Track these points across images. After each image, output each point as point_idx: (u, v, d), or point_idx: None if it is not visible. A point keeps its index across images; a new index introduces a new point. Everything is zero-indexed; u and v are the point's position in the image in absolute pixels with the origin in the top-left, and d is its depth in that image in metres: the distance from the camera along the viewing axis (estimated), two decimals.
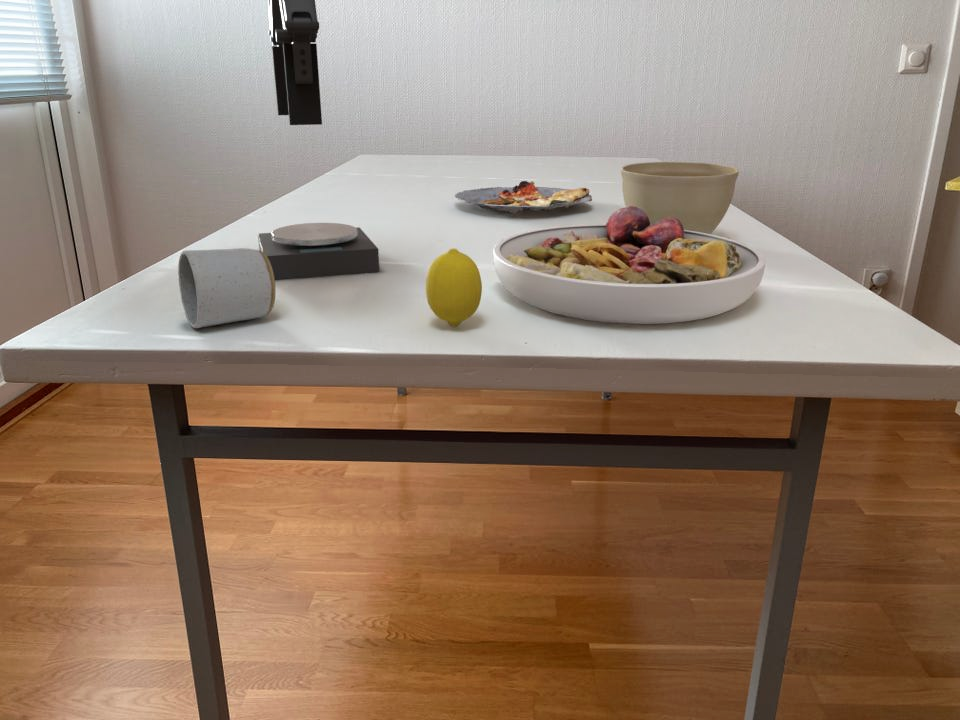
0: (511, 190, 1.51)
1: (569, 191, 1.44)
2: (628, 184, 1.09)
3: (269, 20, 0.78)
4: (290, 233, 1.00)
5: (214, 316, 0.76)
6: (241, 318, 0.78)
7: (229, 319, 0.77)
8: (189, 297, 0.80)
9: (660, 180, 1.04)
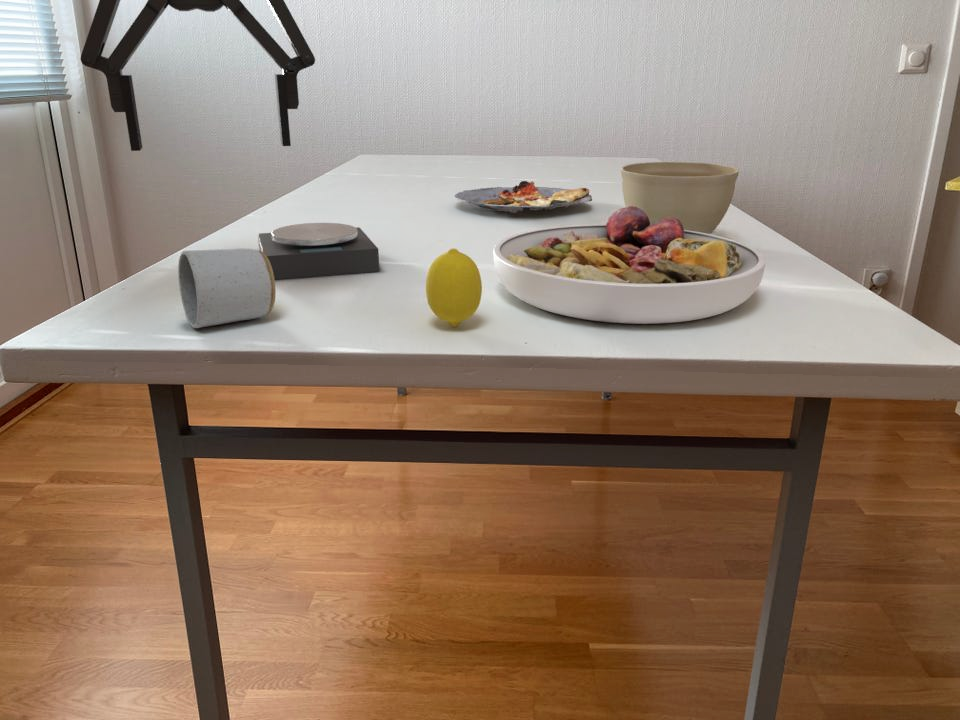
0: (511, 190, 1.51)
1: (569, 191, 1.44)
2: (628, 184, 1.09)
3: (90, 46, 0.68)
4: (290, 233, 1.00)
5: (214, 316, 0.76)
6: (241, 318, 0.78)
7: (229, 319, 0.77)
8: (189, 297, 0.80)
9: (660, 180, 1.04)
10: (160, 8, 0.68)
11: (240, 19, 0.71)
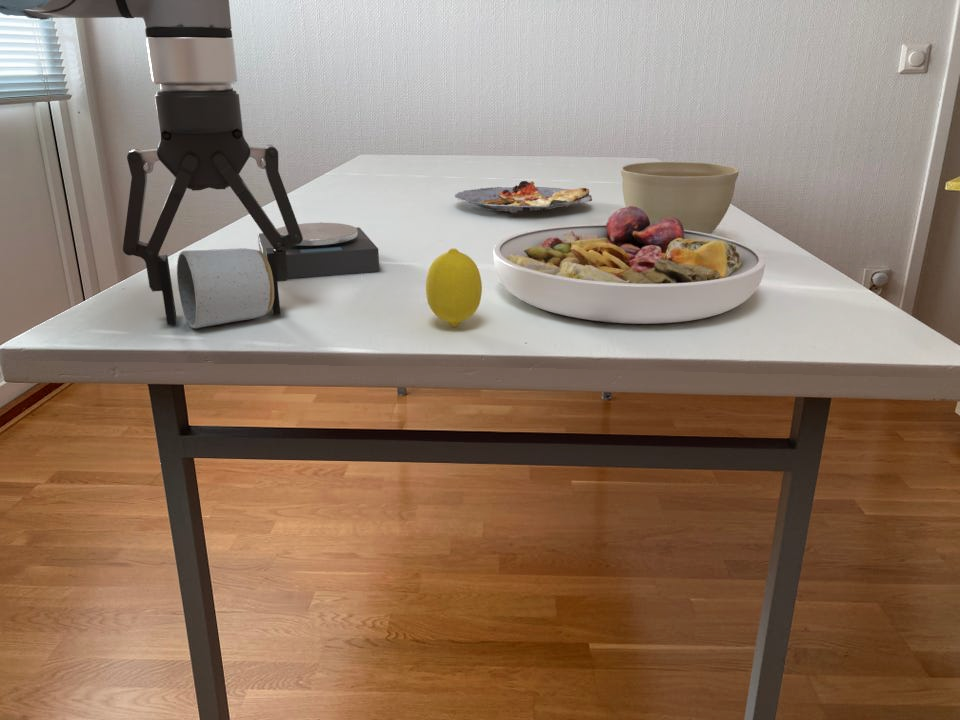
0: (511, 190, 1.51)
1: (569, 191, 1.44)
2: (628, 184, 1.09)
3: (129, 237, 0.74)
4: None
5: (213, 316, 0.76)
6: (240, 318, 0.78)
7: (228, 319, 0.77)
8: (188, 297, 0.80)
9: (660, 180, 1.04)
10: (182, 194, 0.74)
11: (241, 200, 0.76)
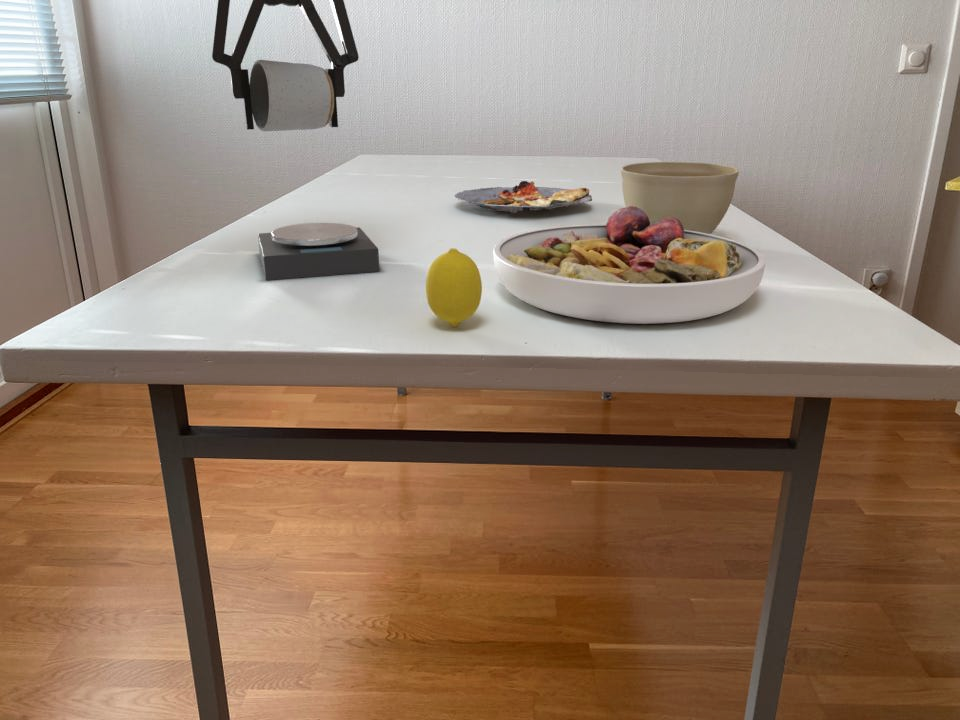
0: (511, 190, 1.51)
1: (569, 191, 1.44)
2: (628, 184, 1.09)
3: (217, 45, 0.86)
4: (290, 233, 1.00)
5: (282, 117, 0.87)
6: (304, 124, 0.90)
7: (294, 123, 0.89)
8: (258, 109, 0.92)
9: (660, 180, 1.04)
10: (262, 6, 0.86)
11: (309, 16, 0.88)
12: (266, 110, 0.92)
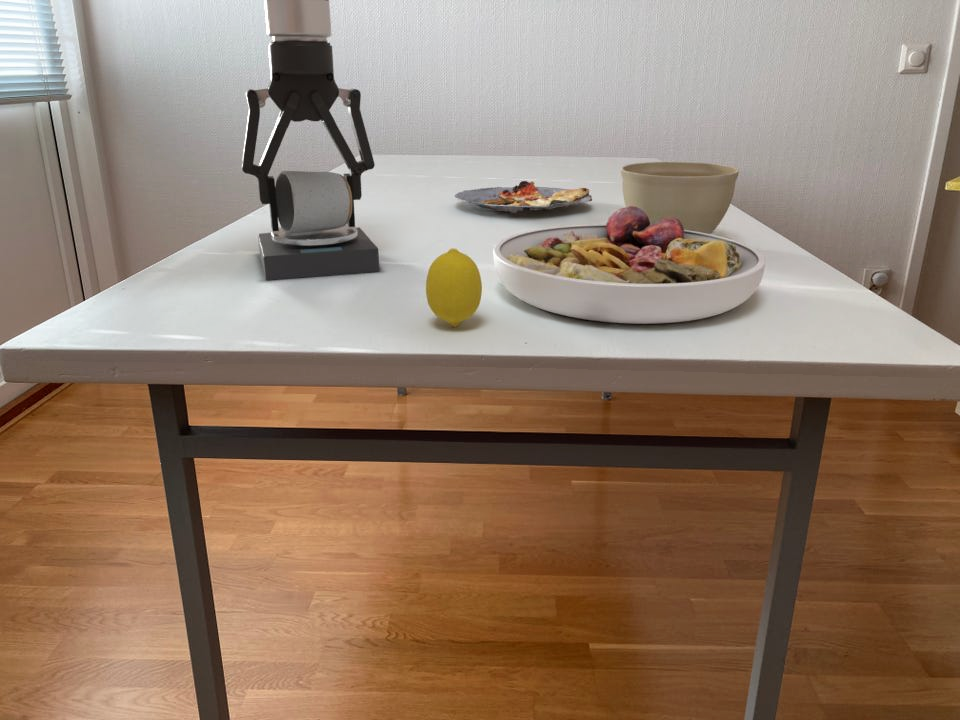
0: (511, 190, 1.51)
1: (569, 191, 1.44)
2: (628, 184, 1.09)
3: (247, 158, 0.95)
4: None
5: (306, 223, 0.96)
6: (325, 227, 0.98)
7: (316, 227, 0.98)
8: (282, 211, 1.00)
9: (660, 180, 1.04)
10: (288, 124, 0.94)
11: (330, 131, 0.97)
12: (289, 212, 1.01)
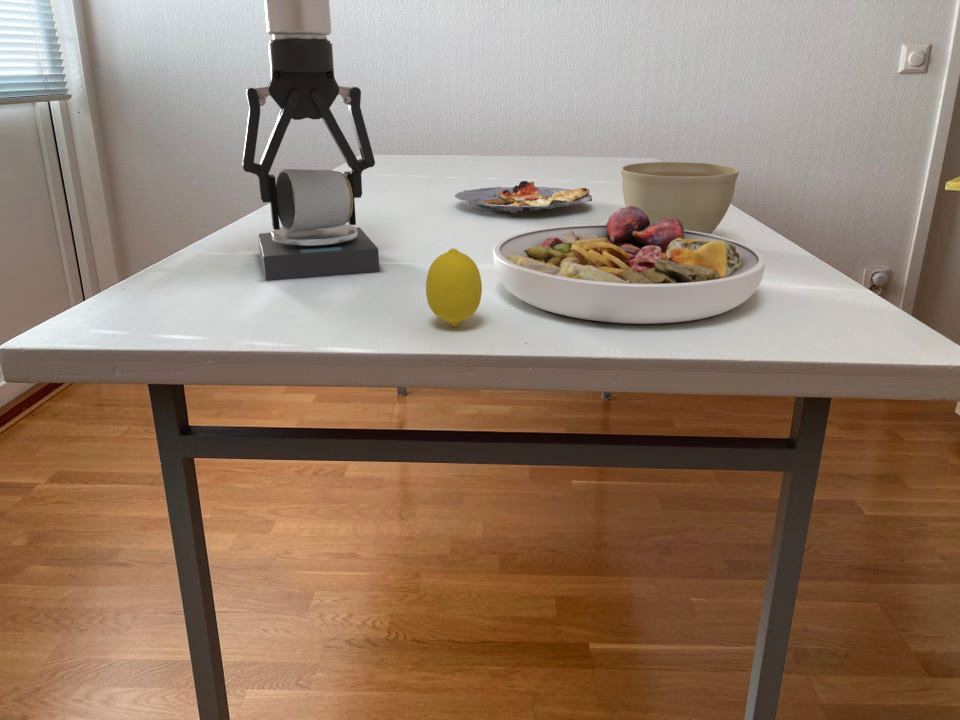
0: (511, 190, 1.51)
1: (569, 191, 1.44)
2: (628, 184, 1.09)
3: (248, 157, 0.95)
4: (290, 233, 1.00)
5: (307, 221, 0.96)
6: (326, 225, 0.98)
7: (317, 225, 0.98)
8: (283, 209, 1.00)
9: (660, 180, 1.04)
10: (288, 122, 0.94)
11: (330, 129, 0.97)
12: (290, 210, 1.01)
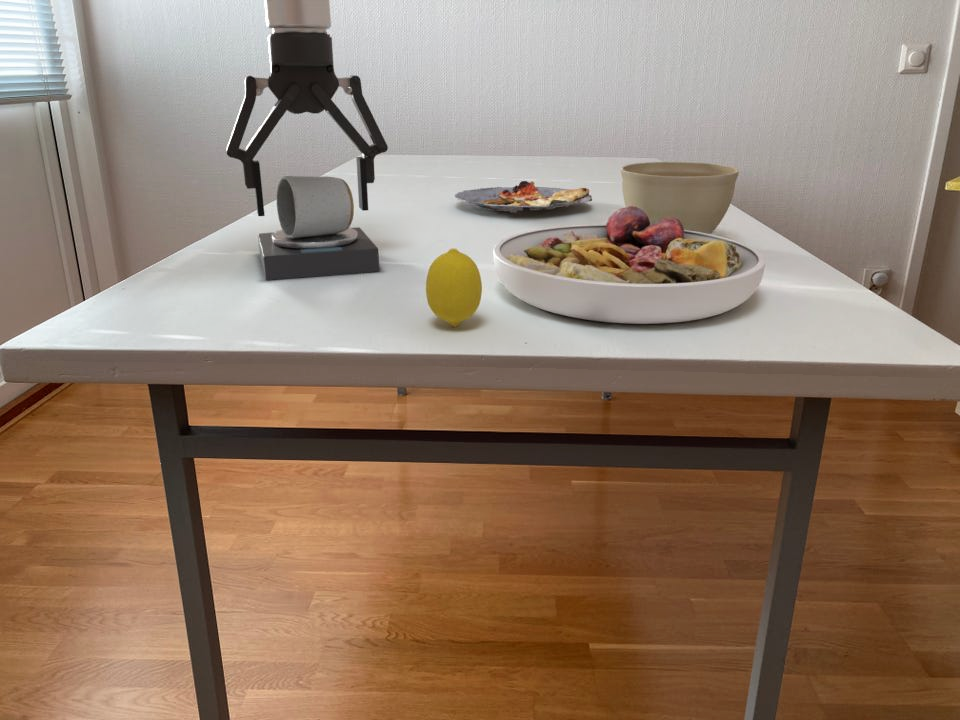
0: (511, 190, 1.51)
1: (569, 191, 1.44)
2: (628, 184, 1.09)
3: (233, 142, 0.94)
4: None
5: (307, 227, 0.96)
6: (327, 231, 0.99)
7: (318, 231, 0.98)
8: (284, 216, 1.01)
9: (660, 180, 1.04)
10: (282, 114, 0.94)
11: (336, 119, 0.96)
12: (291, 217, 1.01)
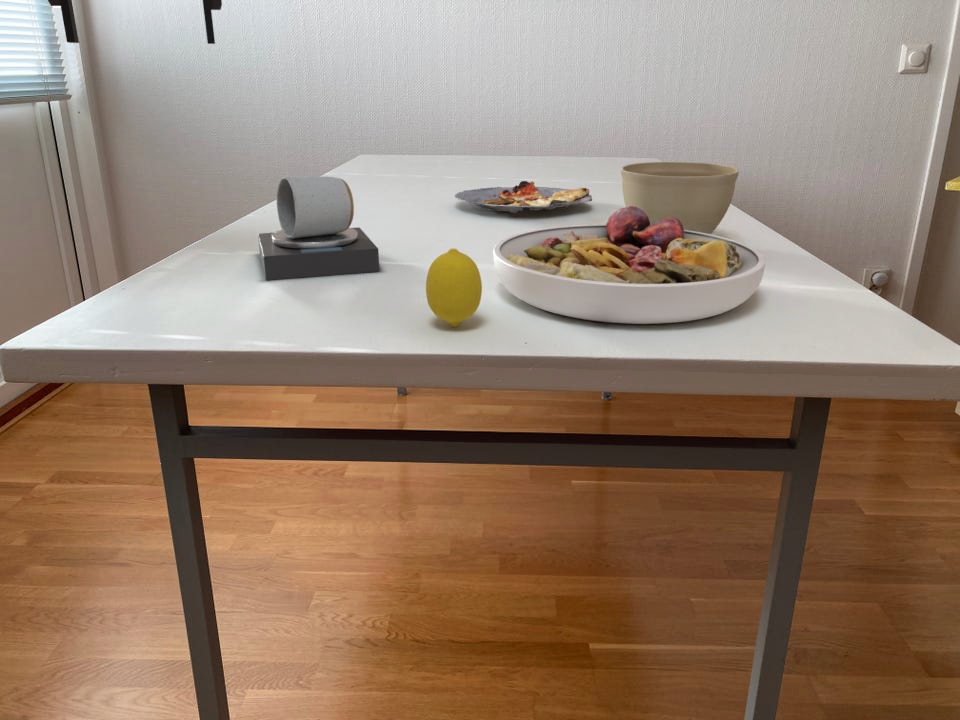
0: (511, 190, 1.51)
1: (569, 191, 1.44)
2: (628, 184, 1.09)
3: None
4: None
5: (307, 227, 0.96)
6: (327, 231, 0.99)
7: (318, 231, 0.98)
8: (284, 216, 1.01)
9: (660, 180, 1.04)
10: None
11: None
12: (291, 217, 1.01)
